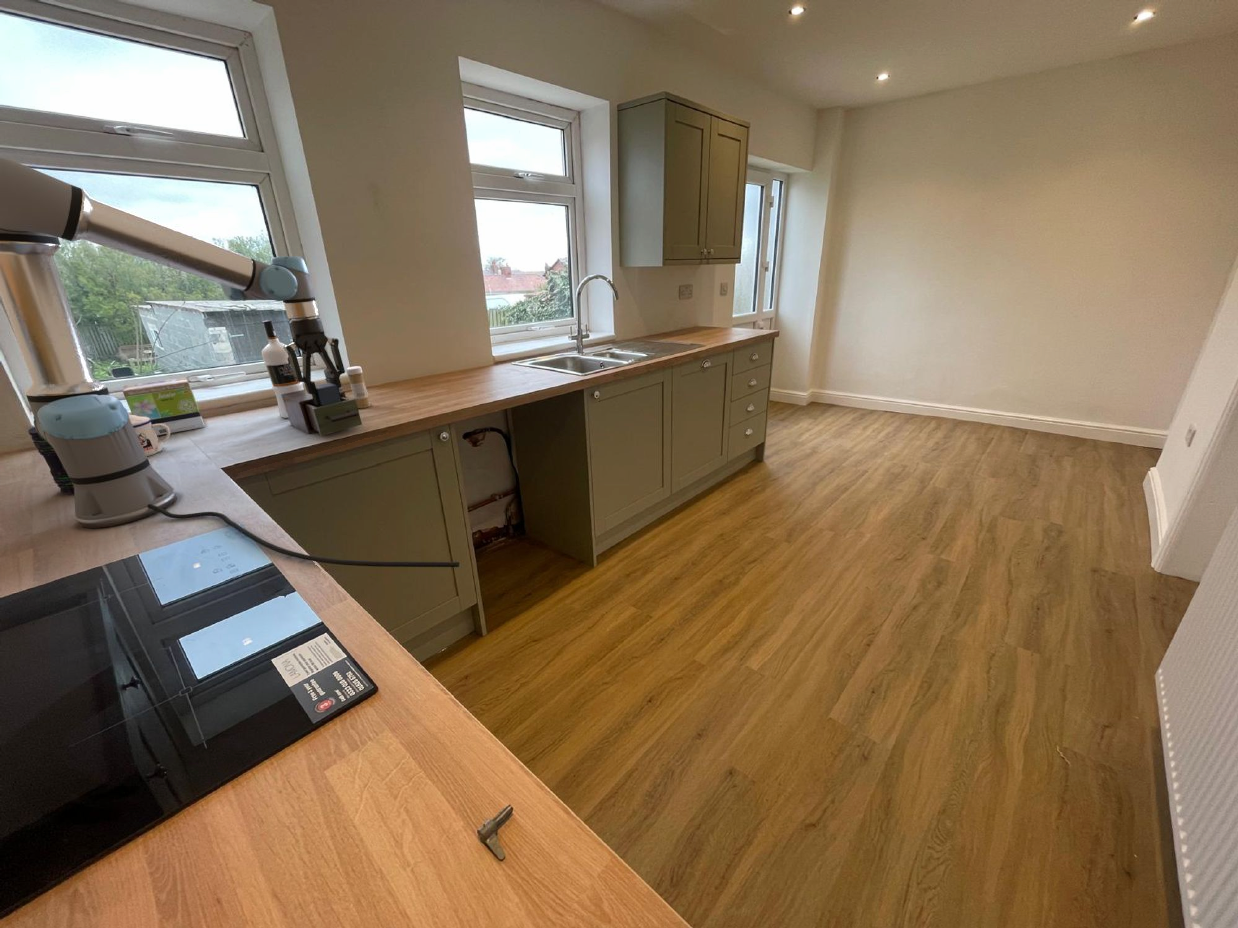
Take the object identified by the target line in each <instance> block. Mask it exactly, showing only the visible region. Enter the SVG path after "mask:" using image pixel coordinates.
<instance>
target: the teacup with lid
mask: <svg viewBox="0 0 1238 928" xmlns="http://www.w3.org/2000/svg"><path fill="white" fill-rule="evenodd" d="M128 414H129V419H130V421H131V423H132V426H133V428H134V430H135V432H136V434H137V437H138V439H139V441H140V443H141V445H142V447H143V450H144V452H145V454H146V456H147V457H150V456H153V455H155V454H159V453H160V452H161V451H162V450H163V447H162V444H161V443H162V442H166V441H167V440H168V439H169V438H170V435H171V433H170V429H169V428H168V426H166V425H164V424H153V425H152V424H151V419H150V418H148V417H140V416H136V415H132V414H131V413H130V412H128ZM153 427H163V428H165V429H166V431H167V434H165V436H164V437H162V438H158V435H156V433H155V431H154V429H153Z"/></svg>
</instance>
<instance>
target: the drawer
mask: <svg viewBox="0 0 1238 928" xmlns="http://www.w3.org/2000/svg"><path fill="white" fill-rule="evenodd" d="M341 399H342V400H341V402H337V403H333V404H329V405H325V406H321V405H316V404H314V401H313V402H309V403H304V404H303V407H304V410H305V413H306V417H307V420H308V423H309V426H310V428H312V429H314V430H317V432H318V434H319V436H326V435H329V434H333V433H337V432H341V431H344V430H348V429H352V428H355V427H359V426H362V425H363V423H362V419H361V415H360V411H359V408H358V407H357V403H356V399H354V398H347V397H346V398H344V397H342V396H341Z"/></svg>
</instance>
